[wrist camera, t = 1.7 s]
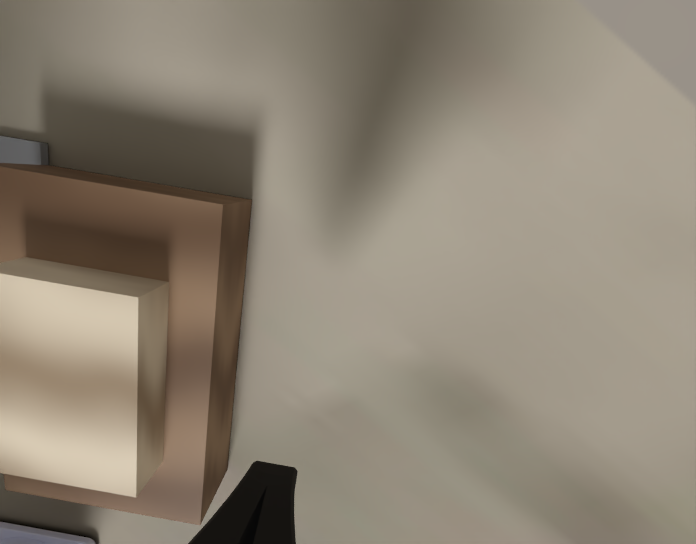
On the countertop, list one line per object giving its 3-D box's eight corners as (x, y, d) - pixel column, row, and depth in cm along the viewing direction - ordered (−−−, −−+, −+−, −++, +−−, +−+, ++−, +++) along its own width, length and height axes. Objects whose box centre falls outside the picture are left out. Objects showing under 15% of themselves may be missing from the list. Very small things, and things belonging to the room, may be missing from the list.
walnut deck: (227, 469, 21) (200, 525, 18) (63, 440, 21) (5, 489, 18) (251, 199, 17) (223, 204, 14) (48, 165, 17) (-31, 161, 14)
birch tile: (162, 460, 17) (136, 497, 15) (39, 438, 17) (-3, 472, 15) (169, 281, 14) (138, 297, 13) (26, 257, 15) (-26, 268, 13)
